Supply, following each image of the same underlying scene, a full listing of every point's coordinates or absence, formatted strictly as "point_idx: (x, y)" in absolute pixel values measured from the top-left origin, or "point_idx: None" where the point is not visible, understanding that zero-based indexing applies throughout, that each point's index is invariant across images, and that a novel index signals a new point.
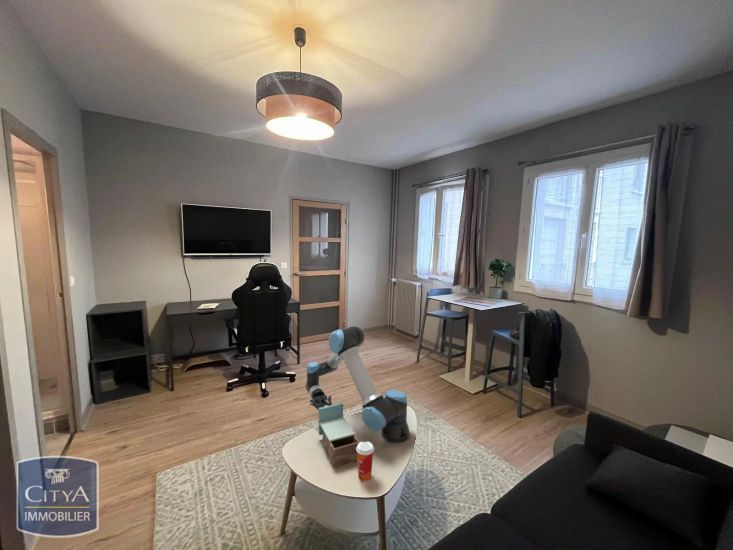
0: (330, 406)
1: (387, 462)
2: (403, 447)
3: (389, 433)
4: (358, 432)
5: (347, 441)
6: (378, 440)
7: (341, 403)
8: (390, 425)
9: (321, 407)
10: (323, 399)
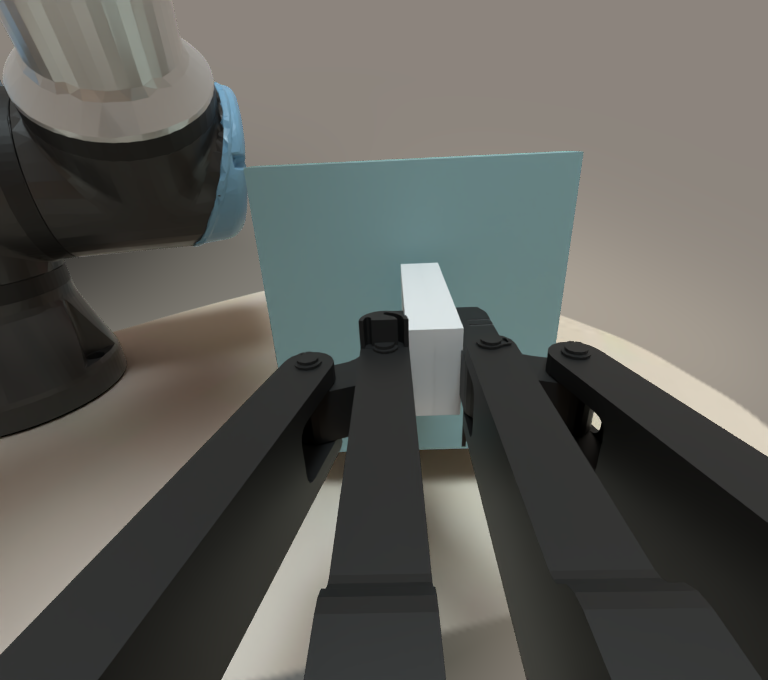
0: (420, 158)
1: (255, 310)
2: (125, 334)
3: (105, 326)
4: (179, 461)
5: None
6: (159, 379)
7: (261, 167)
8: (75, 289)
9: (542, 153)
10: (424, 586)
